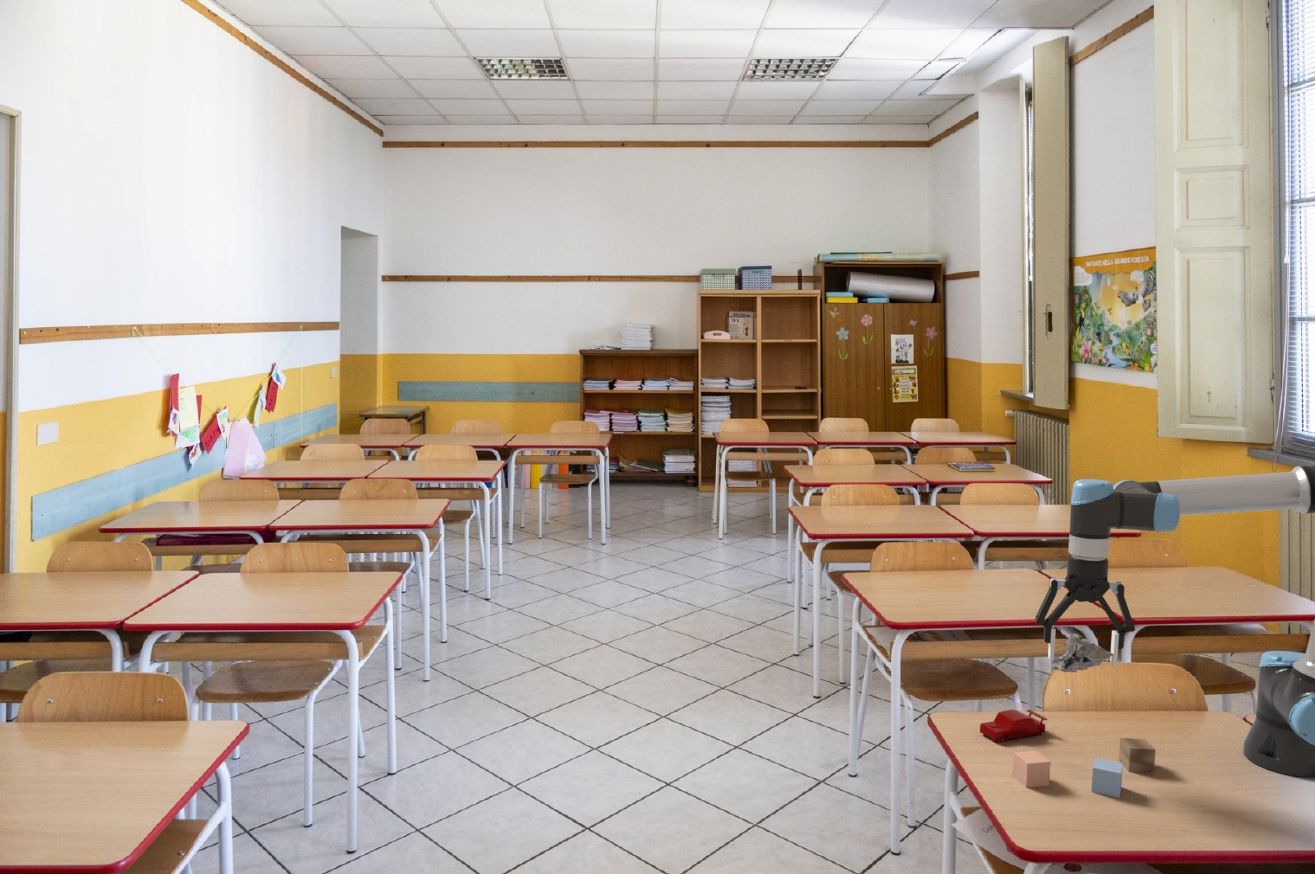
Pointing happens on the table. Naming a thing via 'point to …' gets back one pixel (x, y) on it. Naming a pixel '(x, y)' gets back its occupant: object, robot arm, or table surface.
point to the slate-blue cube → (1107, 777)
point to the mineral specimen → (1080, 655)
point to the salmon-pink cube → (1031, 769)
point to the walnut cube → (1137, 755)
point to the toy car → (1013, 725)
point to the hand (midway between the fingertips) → (1082, 660)
